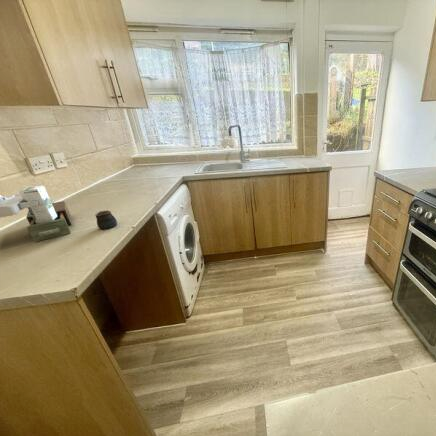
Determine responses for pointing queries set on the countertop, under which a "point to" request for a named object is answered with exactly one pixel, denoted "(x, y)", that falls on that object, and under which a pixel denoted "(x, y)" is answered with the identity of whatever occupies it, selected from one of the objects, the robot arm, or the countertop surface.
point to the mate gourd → (105, 220)
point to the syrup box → (45, 207)
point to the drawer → (49, 228)
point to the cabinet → (58, 208)
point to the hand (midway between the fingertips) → (41, 200)
